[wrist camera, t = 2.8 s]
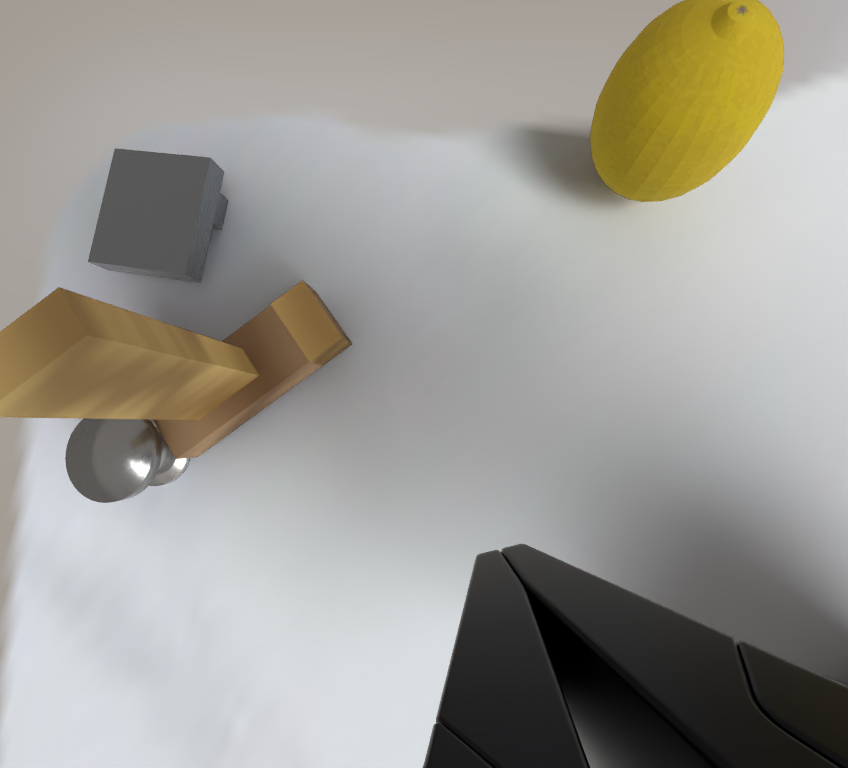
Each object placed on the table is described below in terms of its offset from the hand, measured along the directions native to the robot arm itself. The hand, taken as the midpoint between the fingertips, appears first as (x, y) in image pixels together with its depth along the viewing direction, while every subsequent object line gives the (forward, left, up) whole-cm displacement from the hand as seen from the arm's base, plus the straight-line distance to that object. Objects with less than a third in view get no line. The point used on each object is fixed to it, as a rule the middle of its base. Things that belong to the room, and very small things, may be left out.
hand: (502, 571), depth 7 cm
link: (+8, +8, -12) cm, 16 cm away
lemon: (+11, -12, -12) cm, 20 cm away
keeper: (+16, +9, -12) cm, 22 cm away
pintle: (+7, +14, -12) cm, 20 cm away
